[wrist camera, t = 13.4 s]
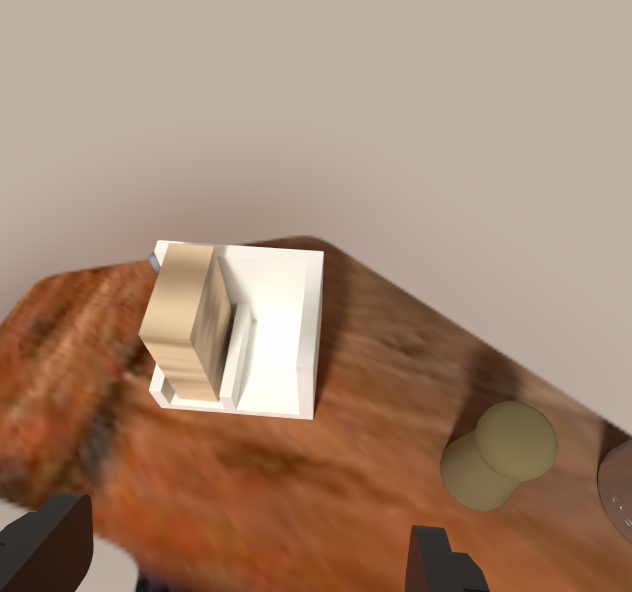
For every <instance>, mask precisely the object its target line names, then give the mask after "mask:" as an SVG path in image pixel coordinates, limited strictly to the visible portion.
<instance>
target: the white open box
mask: <svg viewBox="0 0 632 592" xmlns="http://www.w3.org/2000/svg"><path fill="white" fill-rule="evenodd" d="M169 243H178V244H190V245H203V246H214V248H215V251H216V255H217V259H218V262H219V266H220V270H221V273H222V277H223V281H224V284H225V288H226V292H227V295H228V299H229V303H230V306H231V310H232V314H233V317H234V325H233V330H232V335H231V340H230V345H229V350H228V355H227V360H226V365H225V370H224V375H223V380H222V385H221V390H220V395H219V397H220V399H219V403H216V402H206V401H195V400H184V399H179V397H178V396H177V394H176V393H175V391H174V389H173V388H172V386H171V385H170V383H169V382H168V380H167V378H166V377H165V375H164V374H163V372H162V371H161V369H160V368H159V366H158V364H156V367H155V371H154V374H153V378H152V381H151V385H150V388H149V392H150V393H151V394H152V396H153V397H154V398H155V400H156V401H157V402H158V404H159V405H160V406H161V408H173V409H185V410H198V411H210V412H223V413H235V414H248V415H260V416H273V417H285V418H298V419H310V420H313V414H314V402H315V391H316V379H317V367H318V355H319V344H320V332H321V320H322V288H323V256H324V251H310V250H295V249H280V248H265V247H250V246H235V245H220V244H204V243H190V242H175V241H160V240H159V241H158V242H157V245H156V248H155V251H154V252H153V253H151V254H150V255H149V261H150V263H151V265H152V267H153V269H154V271H155V273H156V274H157V275H159V272H160V269H161V266H162V263H163V259H164V256H165V253H166V250H167V247H168V244H169Z"/></svg>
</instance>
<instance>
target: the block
mask: <svg viewBox="0 0 632 592" xmlns="http://www.w3.org/2000/svg"><path fill="white" fill-rule="evenodd" d="M233 325H234V317H233V314H232V310H231V306H230V303H229V299H228V295H227V292H226V288H225V284H224V281H223V277H222V273H221V270H220V266H219V262H218V259H217V255H216V251H215V248H214V246H203V245H190V244H178V243H169V244H168V247H167V250H166V253H165V256H164V259H163V263H162V266H161V269H160V272H159V275H158V278H157V281H156V284H155V287H154V290H153V293H152V296H151V299H150V302H149V305H148V308H147V311H146V314H145V317H144V320H143V323H142V326H141V329H140V332H139V336H140V338H141V339H142V341H143V342H144V344H145V346H146V347H147V349H148V350H149V352H150V353H151V355H152V357H153V358H154V360H155V361H156V363H157V364H158V366H159V368H160V369H161V371H162V372H163V374H164V375H165V377H166V378H167V380H168V382H169V383H170V385H171V386H172V388H173V389H174V391H175V393H176V394H177V396H178V397H179V399H184V400H195V401H206V402H216V403H219V399H220V397H219V395H220V390H221V385H222V380H223V375H224V370H225V365H226V360H227V355H228V350H229V345H230V340H231V335H232V330H233Z"/></svg>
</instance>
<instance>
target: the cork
mask: <svg viewBox="0 0 632 592" xmlns="http://www.w3.org/2000/svg"><path fill="white" fill-rule="evenodd" d="M557 451H558V442H557V436H556V433H555V431H554V429H553V427H552V424H551V423H550V422H549V421H548V419H547V418H546V417H545V416H544V415H543V414H542V413H541V412H539V411H538V410H537V409H535V408H534V407H532V406H530V405H527V404H525V403H523V402H516V401H507V402H501V403H497V404H495V405H494V406H492V407H490V408H488V409H487V410H486V412H485V413H484V414H483V415H482V416H481V418H480V419H479V421H478V424H477V427H476V429H475V430H473V431H471V432H469V433H468V434H466V435H464V436H462V437H460V438H458V439H457V440H455V441H453V442H452V443H450V444H449V445H448V447H447V448H446V449H445V450H444V452H443V455H442V458H441V461H440V473H441V476H442V480H443V483H444V485H445V487H446V488H447V490H448V492H449V493H450V495H451V496H452V497H453V498H454V499H456V500H457V501H458V502H459V503H460V504H462V505H464V506H466V507H468V508H470V509H472V510H479V511H488V510H493V509H496V508H497V507H499V506H500V505H502V504H504V503H505V501H506V500H507V499H508V498H509V496H510V495H511V494H512V493H513V491H514V490H515V489H516V488H517V486H518V485H519V484H520V483H521V482H522V481H527V480H533V479H536V478H538V477H540V476H541V475H543V474H544V473H546V472H547V471H548V470H549V469H550V467H551V466H552V465H553V463H554V461H555V459H556V456H557Z"/></svg>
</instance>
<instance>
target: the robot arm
mask: <svg viewBox="0 0 632 592" xmlns="http://www.w3.org/2000/svg"><path fill="white" fill-rule="evenodd" d="M598 488H599V493H600V497H601V501H602V503H603V505H604V508H605V510H606V512H607V514H608V516H609V517H610V519H611V520H612V522H613V524H614V525H615V526H616V528H617V529H618V530H619V531H620V532H621V533H622V534H623V536H624V537H625V538H627V539H628V540H629V541H630V542H631V543H632V438H631V439H629V440H627V441H626V442H624V443H622V444H620V445H618V446H617V447H615V448H613V449H611V450H610V452H609V453H608V454H607V455H606V456H605V457H604V459H603V461H602V463H601V465H600V469H599V473H598ZM92 556H93V523H92V502H91V498H90V496H89V495H84V494H73V493H62V492H57V493H55V494H54V495H53V496H52V497H51V498H50V499H49V500H48V501H47V502H46V503H45V504H44V505H43V506H42V507H41V508H40V509H39V510H38V511H37V512H29V513H27V514H25V515H24V516H22V517H20V518H19V519H17V520H15V521H14V522H12V523H10V524H9V525H7V526H6V527H5V528H4V529H3V530H2V531H1V532H0V592H75V591H76V589H77V588H78V586H79V585H80V583H81V582H82V580H83V579H84V577H85V576H86V574H87V572H88V569H89V567H90V564H91V561H92ZM405 592H490V591H489V588H488V585H487V582H486V580H485V577H484V574H483V572H482V570H481V569H480V568H479V567H478V566H477V564H476V563H475V562H474V561H473V560H472V559H471V557H470V556H469V555H468V554H467V553H456V552H452V551H451V548H450V544H449V541H448V538H447V534H446V531H445V529H444V528H438V527H427V526H416V525H413V526H412V530H411V536H410V545H409V553H408V562H407V570H406V579H405Z"/></svg>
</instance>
